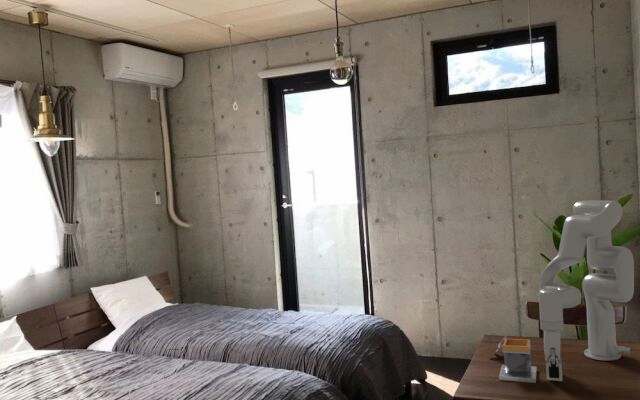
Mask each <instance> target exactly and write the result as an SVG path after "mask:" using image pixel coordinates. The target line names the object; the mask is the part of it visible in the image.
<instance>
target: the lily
mask: <svg viewBox="0 0 640 400" xmlns="http://www.w3.org/2000/svg"><path fill="white" fill-rule="evenodd" d="M508 335H509V334H507V335H504V337H503V338H502V339H501V341H500V342H499V343H498V342H497V343H496V342H495V343H496V344H495V345H497V349H496V350H494V353H491V356H490V357H492V356H493V354H496V353H497V352H501V351H502V352H503V344H504V340H505V339H507V338H508Z"/></svg>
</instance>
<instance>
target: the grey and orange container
mask: <svg viewBox="0 0 640 400" xmlns="http://www.w3.org/2000/svg"><path fill="white" fill-rule="evenodd" d="M531 349H532V344H531V339H523V338H521V339H520V338H506V339H505V340H504V344H503V350H502V353H503V360H504V364H503V363H502V364H501V367H500V371H499V375H498V377H499V378H498V379H499V381H506V382H519V383H520V382H522V383H535V384H536V382H537V370H538V368H537V366H534V365H533V366H532V356H531Z"/></svg>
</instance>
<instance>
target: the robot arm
mask: <svg viewBox="0 0 640 400" xmlns="http://www.w3.org/2000/svg"><path fill="white" fill-rule="evenodd" d="M572 211H573V214H572V215H570V216H568V217H566V218H565V219H564V223H563V226H562V231H561V232H562V233H561V237H560V242H559V248H558V252H557V254H556V256H555V257H554V258H553V259H552V260H551V261H549V262H548V264H547V265H546V267H545V268H544V269H543V270H542V273H541V275H540V280H539V284H538V303H539V304H538V305H539V306H538V307H539V324H540V327H539V329H540V330H542V331H543V351H544V359H545V360H546V359H547V358H549V377H550V378H559V366H558V360H559V359H560V356H561V331H564V330H565V328H564V311H563V310H564V309H569V308H575V307H577V306H578V305H579V304H580V303H581V301H582V292H581V291H580V290H579V289H578V288H577V287H575V286H571V285H565V284H560V283H559V284H558V283H555V280H556V277H557V276H558V274H559V273H560V272H561V271H563V270H564V269H566V268H569V267H571V266H574V265H576V264H579V263H581V262H582V261H583V260H584V257H585V252H586V262H587V263H586V264H587V265H588V267H589V268H590V269H593V270H597V271H604V272H614V273H615V274H608V273H599V272H597V273H595V272H594V273H589V274H587V275H585V276H584V278H583V279H582V283H581V284H582V285H581V286H582V290H583V294H584V298H585V299H584V300H585V304H586V305H585V306H586V324H587V325H586V326H587V328H586V329H587V342H588V343H587V344H588V345H587V346H588V348H585V350H584V352H583V355H584V356H585V357H587V358H589V359H592V360H596V361H597V360H598V361H604V362H605V361H608V362H610V361H616V360H619V359H621V357H622V353H624V354H631V348H630V347H626V346H624V345H623V346H619V345H618V344H617V340H616V337H617V335H616V317H615V315H616V314H615V309H614V306H613V305H612V303H611V301H612V302H617V303H618V302H619V303H627V302H629V301H631V300H632V298H633V296H634V291H635V261H634V255H633V253H632V251H631V250H630V249H629V248H627V247H626V246H618V245H613V242H612V232H611V231H613V229H614V228H615V227H616V225H618V224H619V222H620V221H621V220H622V216H623V207H622V205H621V204H620V203H619V202H618V201H616V200H607V199H606V200H604V199H603V200H598V199H597V200H596V199H595V200H594V199H593V200H592V199H590V200H589V199H588V200H579V201H576V202H575V203H574V204H573V206H572ZM555 360H556V361H555Z"/></svg>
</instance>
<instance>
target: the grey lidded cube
mask: <svg viewBox="0 0 640 400" xmlns="http://www.w3.org/2000/svg"><path fill="white" fill-rule="evenodd" d="M555 361H556V360H555ZM558 366H559V378H550V377H549V358H547V359H545V369H546V371H545V372H546V373H545V374H546V381H555V382H557V381H558V382H563V369H562V368H563V367H562V366H563V364H562V356H561V355H560V359H559V360H558Z"/></svg>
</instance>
